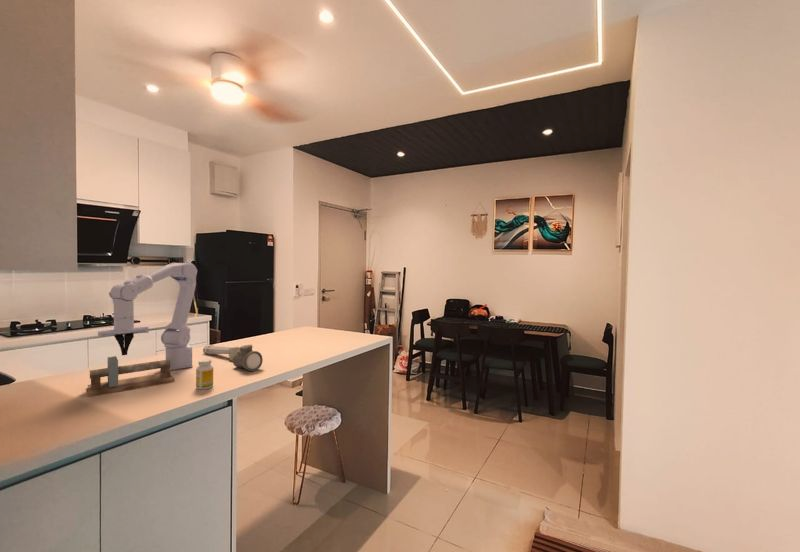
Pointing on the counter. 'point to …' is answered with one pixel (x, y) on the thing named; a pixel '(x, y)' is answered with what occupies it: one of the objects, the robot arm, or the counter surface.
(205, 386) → the supplement bottle
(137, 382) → the pipe stand
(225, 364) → the counter surface
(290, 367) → the counter surface
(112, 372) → the collar
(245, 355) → the pipe fitting
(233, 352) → the grey handle
